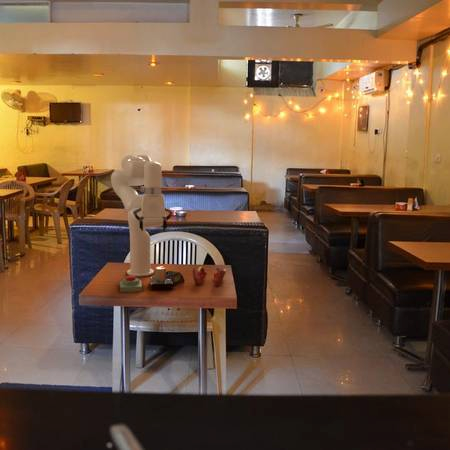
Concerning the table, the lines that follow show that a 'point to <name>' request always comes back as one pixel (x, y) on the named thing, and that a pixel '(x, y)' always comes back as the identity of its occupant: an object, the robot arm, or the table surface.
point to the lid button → (130, 278)
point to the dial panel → (160, 284)
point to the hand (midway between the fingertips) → (153, 230)
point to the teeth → (201, 274)
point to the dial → (160, 273)
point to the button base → (130, 285)
